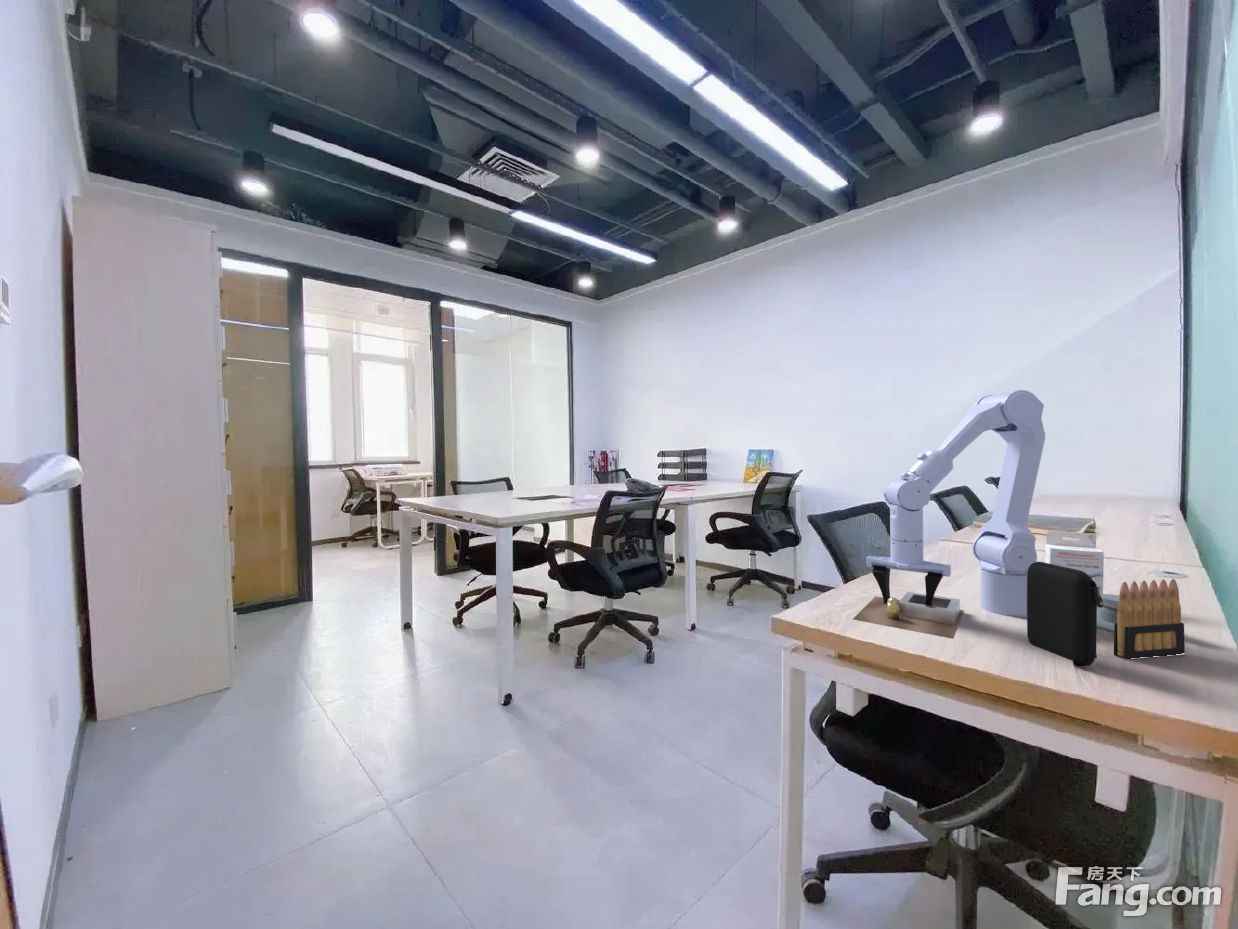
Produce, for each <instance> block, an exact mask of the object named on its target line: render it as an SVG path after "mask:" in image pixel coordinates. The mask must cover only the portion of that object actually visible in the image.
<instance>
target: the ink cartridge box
mask: <svg viewBox="0 0 1238 929" xmlns="http://www.w3.org/2000/svg"><path fill="white" fill-rule="evenodd" d="M1045 537H1046V539H1045V540H1046V543H1045V544H1044V562H1045V563H1049V564H1054V565H1058V566H1063V567H1067V568H1072V569H1077V570H1081V571H1083V572H1085V573H1086V574H1088V575H1089V576H1090V577H1091V578H1092V580H1093V581H1094V582H1095V583H1096V586H1097V587H1098V588H1099V591H1100V594H1104V568H1105V567H1104V563H1105V562H1104V559H1105V558H1104V556H1105V555H1104V551H1103V550H1101V549H1100V548H1098V547H1097V534H1096V533H1093V532H1091V533H1089V532H1074V531H1057V530H1056V531H1055V530H1054V531H1053V530H1048V531H1046V536H1045ZM1069 537H1073V538H1074V540H1072V539H1063V538H1069ZM1075 538H1078V539H1079V540H1075ZM1097 607H1098V606H1097Z"/></svg>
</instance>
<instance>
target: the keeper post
mask: <svg viewBox="0 0 1238 929" xmlns="http://www.w3.org/2000/svg"><path fill="white" fill-rule="evenodd" d="M898 600H899V599H897V598H896V597H890V598H889V599H888V601H887V618H888V619H891V620H899V601H898Z"/></svg>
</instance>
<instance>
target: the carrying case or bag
mask: <svg viewBox="0 0 1238 929" xmlns="http://www.w3.org/2000/svg"><path fill="white" fill-rule="evenodd" d="M1103 605H1104V604H1103V600H1102V597H1101V594H1100V591H1099V588H1098V587H1097V586H1096V583H1095V582H1094V581H1093V580H1092V578H1091V577H1090V576H1089V575H1088V574H1086V573H1085V572H1083V571H1081V570H1077V569H1072V568H1067V567H1063V566H1058V565H1054V564H1049V563H1045V561H1036V562H1034V563H1032V564H1031V565H1030V566H1029V568H1028V572H1027V618H1026V629H1027V630H1026V632H1027V634H1026V635H1027V640H1028V642H1029V644H1030V645H1032V646H1034V647H1037V648H1040V649H1042V650H1043V651H1047V652H1048V653H1049V652H1050V653H1052V654H1054V655H1057V656H1058V657H1059V656H1060V657H1062V658H1065V659H1067V660H1070V661H1072V663H1073V665H1074V666H1077V667H1081V668H1083V667H1085V668H1086V667H1089V666H1092V664H1093V663H1094V661H1095V659H1097V658H1098V656H1097V639H1098V638H1097V635H1098V633H1097V630H1098V629H1097V606H1098V607H1099V608H1102V607H1103Z"/></svg>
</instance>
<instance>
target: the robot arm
mask: <svg viewBox="0 0 1238 929" xmlns="http://www.w3.org/2000/svg"><path fill="white" fill-rule="evenodd" d="M1044 407H1045V404H1044V403H1043V402H1042V401H1041V400H1040V399H1039V398H1038V397H1037V396H1036V395H1035V394H1034V393H1032V392H1031V391H1030V390H1029V391H1028V390H1024V389H1019V390H1014V391H1012V392H1006V393H1000V394H989V395H984V396H981V397H980V398H979V399H977V401H976V402H975V404H973V405H972V406H970V407H969V408H968V410H967V412H966V414H965V416H964V417H963V418H962V419H961V421H960V422H959V423H958V424H957V425H956V426H955V427H954V429H953V430H952V431H951V432H950V433H949V435H948V436H947V437H946V438H945V439H944V441H942V442H941V444H940V445H939V446H938V447H937V448H936V449H935V450H933V449H931V450H926V451H925V452H920V453H919V454H918V455H917V456H916V459H917V461H915V462H914V463H913V464H912V465H911V466H910V467H909V469H907V471H905V472H902V473H901V474H900V479H897V480H893V481H892V482H890V483H889V484H888V486H887V487H886V491H885V492H884V493H883V497H884V500H885V501H886V503H887V504H888V506H889V513H890V514H889V523H890V524H889V528H890V529H889V531H890V532H889V536H890V537H889V538H890V540H889V541H890V544H889V545H890V547H889V548H890V556H873V555H868V556H867V557H866V559H865V560H866V565H865V566H866V568H867V567H868V568H872V571H871V573H872V575H873V577H874V578H875V580H876V582H877V585H878V587H879V589H880V592H881V595H882V596H881V597H883V600H884V604H887V601H888V599H889V598H891V593H890V592H891V588H890V580H891V579H890V576H891V570H898V571H905V572H906V571H907V572H913V573H914V572H915V573H923V574H926V575H925V577H924V582H925V594H926V603H925V605H929V606H932V601H933V597H934V596H935V594H936V591H937V589H938V587H939V585H940V583H941V581H942V579H943V577H951V575H952V574H951V573H952V572H951V571H952V570H951V569H952V568H951V566H952V565H951V564H943V563H938V562H934V561H928V560H924V507H925V506H927V505H928V504H929V502H930V500H931V493H932V491H933V490H934V489H935V488H936V487H937V486H938V485H939V484H940V483H941V482H942V481H943V480H944V479H945V478H946V477H947V476H948V475H949V474H950V473H951V472H952V470H953V469H954V461H953V460H954V459H956V458H957V457H958V456H959V455H960V454H961V453H962V452H963V451H964V450H965V449H967V447H968V446H970V445H971V444H972V443H974V441H975V440H976V439H978V437H979V436H981V435H982V434H983V433H984V432H986V431H992V432H994V433H996V434H998V435H999V436H1000V437H1001V438H1002V440H1004V441H1005V442H1006V444H1007V445H1006V448H1005V452H1004V454H1005V455H1004V457H1003V458H1004V459H1003V463H1002V468H1001V473H1000V477H999V482H998V487H997V492H996V494H995V495H996V496H995V500H994V505H993V509H992V515H991V519H990V520H988V521H986V522H985V523H983V525H981V527H980V532H979V534H978V535H977V537H975V539H974V540H973V542H972V546H971V550H972V554H973V555H974V557H975V559H976V560H978V561H979V564H978V565H979V567H980V608H981V609H982V610H984V611H986V612H988V613H989V612H990V613H992V614H996V615H1002V616H1011V617H1020V618H1025V619H1027V572H1028V568H1029V566H1030V565H1031V564H1032V563H1034V562H1038V553H1037V550H1036V540H1037V538H1036V536H1035V534H1034V533H1033V532H1032V531H1031V529H1030V528H1029V527H1028V525H1027V523H1028V518H1029V516H1030V510H1031V507H1032V500H1033V497H1034V492H1035V487H1036V483H1037V476H1038V472H1039V469H1040V463H1041V459H1042V456H1043V449H1044V446H1045V440H1046V432H1045V428H1044V424H1043V419H1042V416H1043V412H1044Z"/></svg>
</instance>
